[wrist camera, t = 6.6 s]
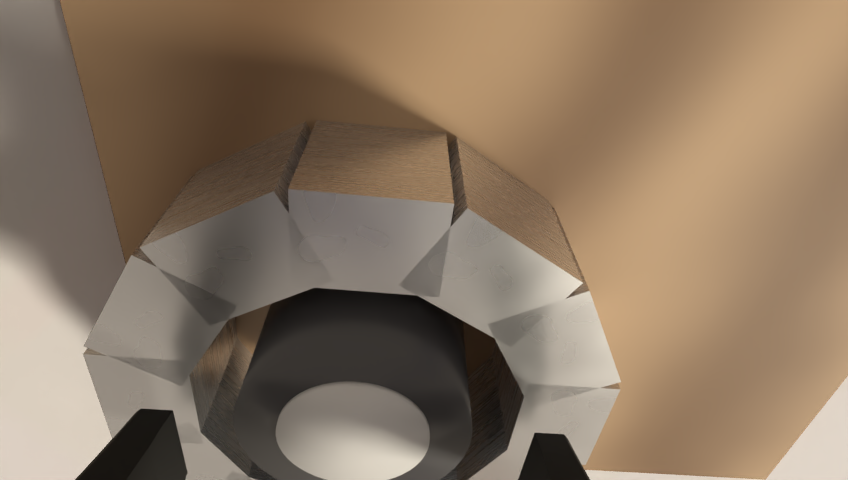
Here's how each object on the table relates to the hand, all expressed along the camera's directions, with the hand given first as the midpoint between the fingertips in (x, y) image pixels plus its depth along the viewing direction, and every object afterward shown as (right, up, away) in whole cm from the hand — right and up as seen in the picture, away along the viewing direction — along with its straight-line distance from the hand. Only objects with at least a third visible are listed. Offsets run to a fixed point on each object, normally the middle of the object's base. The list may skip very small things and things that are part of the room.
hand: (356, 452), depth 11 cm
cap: (0, +2, +3) cm, 4 cm away
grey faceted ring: (0, +2, +3) cm, 4 cm away
